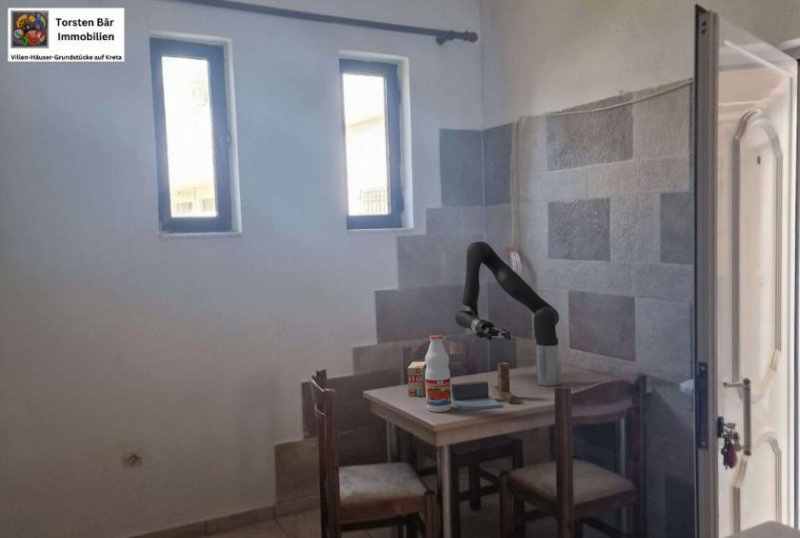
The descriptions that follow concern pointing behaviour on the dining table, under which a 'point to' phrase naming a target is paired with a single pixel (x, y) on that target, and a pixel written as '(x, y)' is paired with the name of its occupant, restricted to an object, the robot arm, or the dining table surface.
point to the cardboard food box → (417, 379)
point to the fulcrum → (472, 396)
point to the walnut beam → (504, 384)
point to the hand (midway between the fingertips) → (500, 337)
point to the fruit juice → (437, 376)
